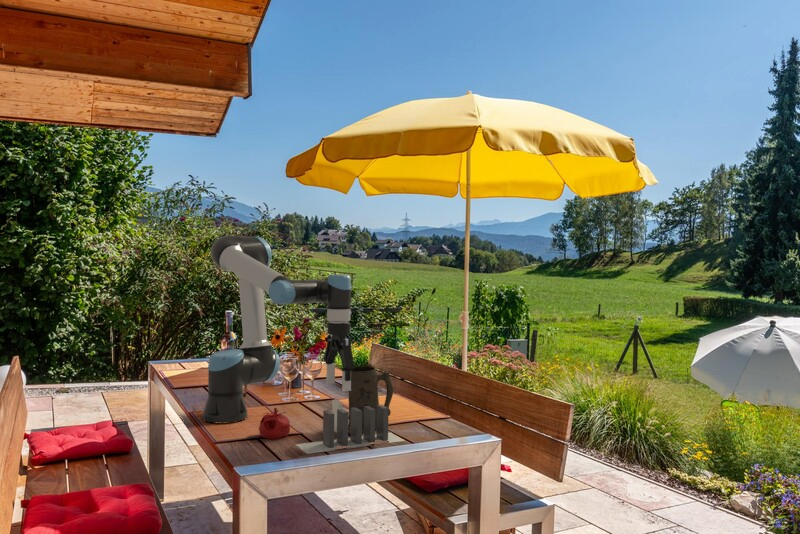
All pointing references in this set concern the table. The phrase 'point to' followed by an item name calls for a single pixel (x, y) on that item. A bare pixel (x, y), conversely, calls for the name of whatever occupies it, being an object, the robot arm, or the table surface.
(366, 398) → the beer stein
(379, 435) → the domino
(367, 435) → the domino
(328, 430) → the domino
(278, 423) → the pomegranate
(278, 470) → the table surface
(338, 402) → the domino
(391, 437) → the mat
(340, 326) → the robot arm
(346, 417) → the domino
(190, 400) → the table surface
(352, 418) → the domino
